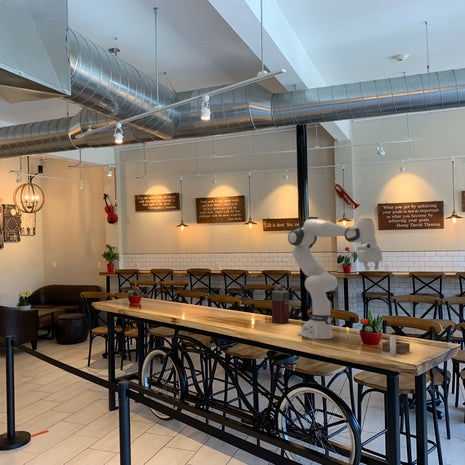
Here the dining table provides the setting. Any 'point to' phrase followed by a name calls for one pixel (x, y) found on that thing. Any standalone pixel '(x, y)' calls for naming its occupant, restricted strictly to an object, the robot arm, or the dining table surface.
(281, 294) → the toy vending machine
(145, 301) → the dining table surface
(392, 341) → the peg
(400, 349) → the socket block
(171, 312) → the dining table surface
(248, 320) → the dining table surface
